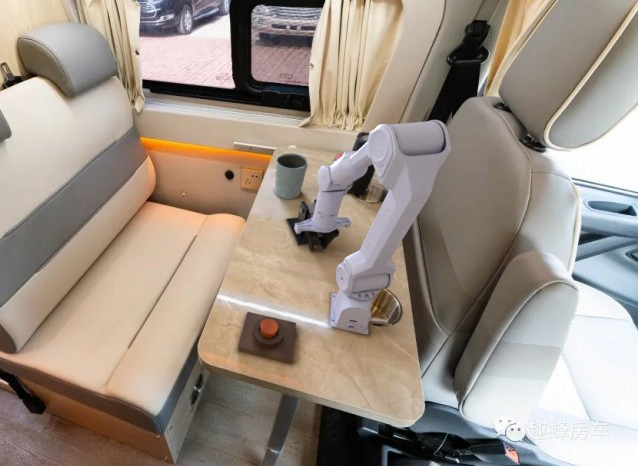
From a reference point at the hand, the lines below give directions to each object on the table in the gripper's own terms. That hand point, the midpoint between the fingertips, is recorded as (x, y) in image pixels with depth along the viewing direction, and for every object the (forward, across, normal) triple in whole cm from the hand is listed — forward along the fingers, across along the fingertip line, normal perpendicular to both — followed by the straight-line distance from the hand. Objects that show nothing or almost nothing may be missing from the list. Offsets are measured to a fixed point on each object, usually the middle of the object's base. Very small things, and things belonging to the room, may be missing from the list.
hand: (316, 247), depth 91 cm
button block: (0, +21, +24) cm, 32 cm away
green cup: (+1, -1, -29) cm, 29 cm away
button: (-3, +21, +24) cm, 32 cm away
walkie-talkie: (+1, -28, -42) cm, 51 cm away
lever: (-4, 0, -5) cm, 6 cm away
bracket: (+1, 0, -8) cm, 8 cm away
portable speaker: (+1, -24, -26) cm, 35 cm away
